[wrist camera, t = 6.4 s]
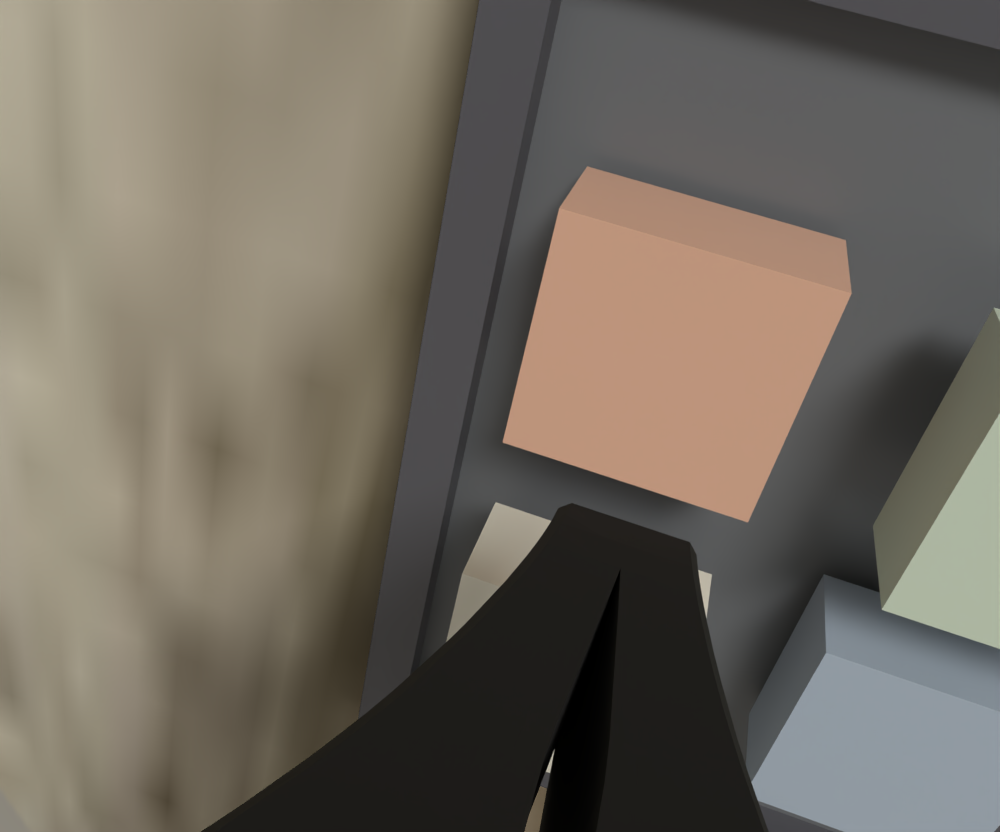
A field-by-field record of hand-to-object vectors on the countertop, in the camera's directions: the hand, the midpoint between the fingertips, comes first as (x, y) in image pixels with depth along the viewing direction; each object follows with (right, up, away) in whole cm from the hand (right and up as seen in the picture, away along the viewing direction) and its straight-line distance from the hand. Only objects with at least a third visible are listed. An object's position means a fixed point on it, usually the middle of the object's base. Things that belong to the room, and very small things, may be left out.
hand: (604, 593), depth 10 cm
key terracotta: (+2, +3, +6) cm, 7 cm away
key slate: (+6, -3, +8) cm, 11 cm away
